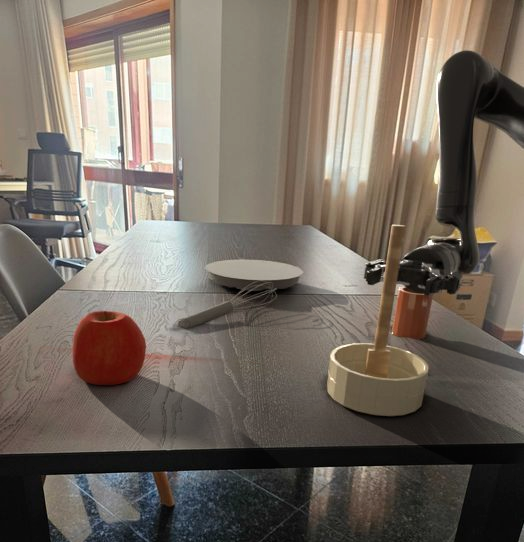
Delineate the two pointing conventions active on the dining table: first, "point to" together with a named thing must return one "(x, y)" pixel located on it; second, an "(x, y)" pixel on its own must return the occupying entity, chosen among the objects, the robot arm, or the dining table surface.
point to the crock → (411, 314)
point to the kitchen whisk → (218, 310)
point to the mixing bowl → (376, 381)
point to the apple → (108, 348)
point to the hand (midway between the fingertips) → (398, 283)
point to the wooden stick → (386, 307)
